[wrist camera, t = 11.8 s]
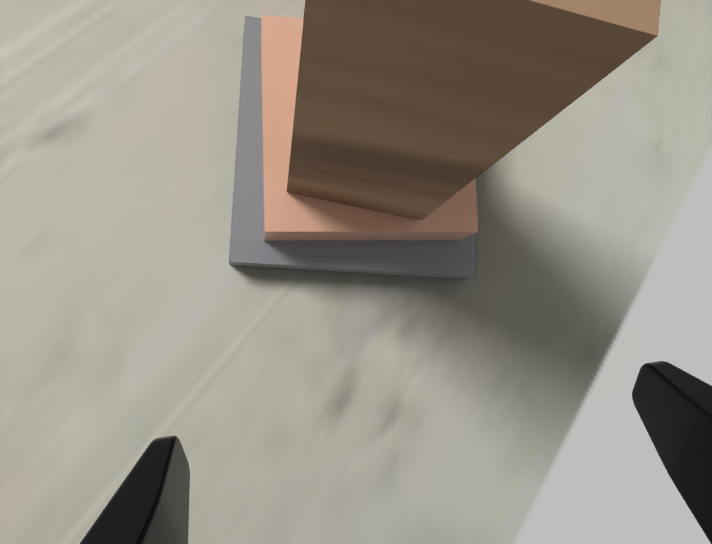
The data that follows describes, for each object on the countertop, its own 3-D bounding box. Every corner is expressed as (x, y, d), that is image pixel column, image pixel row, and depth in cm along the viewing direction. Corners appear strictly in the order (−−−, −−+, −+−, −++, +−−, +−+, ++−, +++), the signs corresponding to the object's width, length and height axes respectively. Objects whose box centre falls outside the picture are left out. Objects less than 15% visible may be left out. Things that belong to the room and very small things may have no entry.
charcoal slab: (457, 280, 24) (475, 276, 22) (231, 267, 22) (229, 261, 20) (460, 71, 25) (477, 49, 23) (245, 42, 23) (245, 15, 21)
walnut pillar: (421, 220, 19) (657, 35, 7) (286, 192, 19) (311, -61, 7) (441, 94, 20) (684, -255, 8) (312, 62, 19) (374, -368, 8)
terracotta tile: (458, 240, 22) (478, 231, 20) (263, 240, 20) (264, 231, 18) (448, 56, 23) (467, 31, 21) (260, 43, 21) (261, 15, 19)
